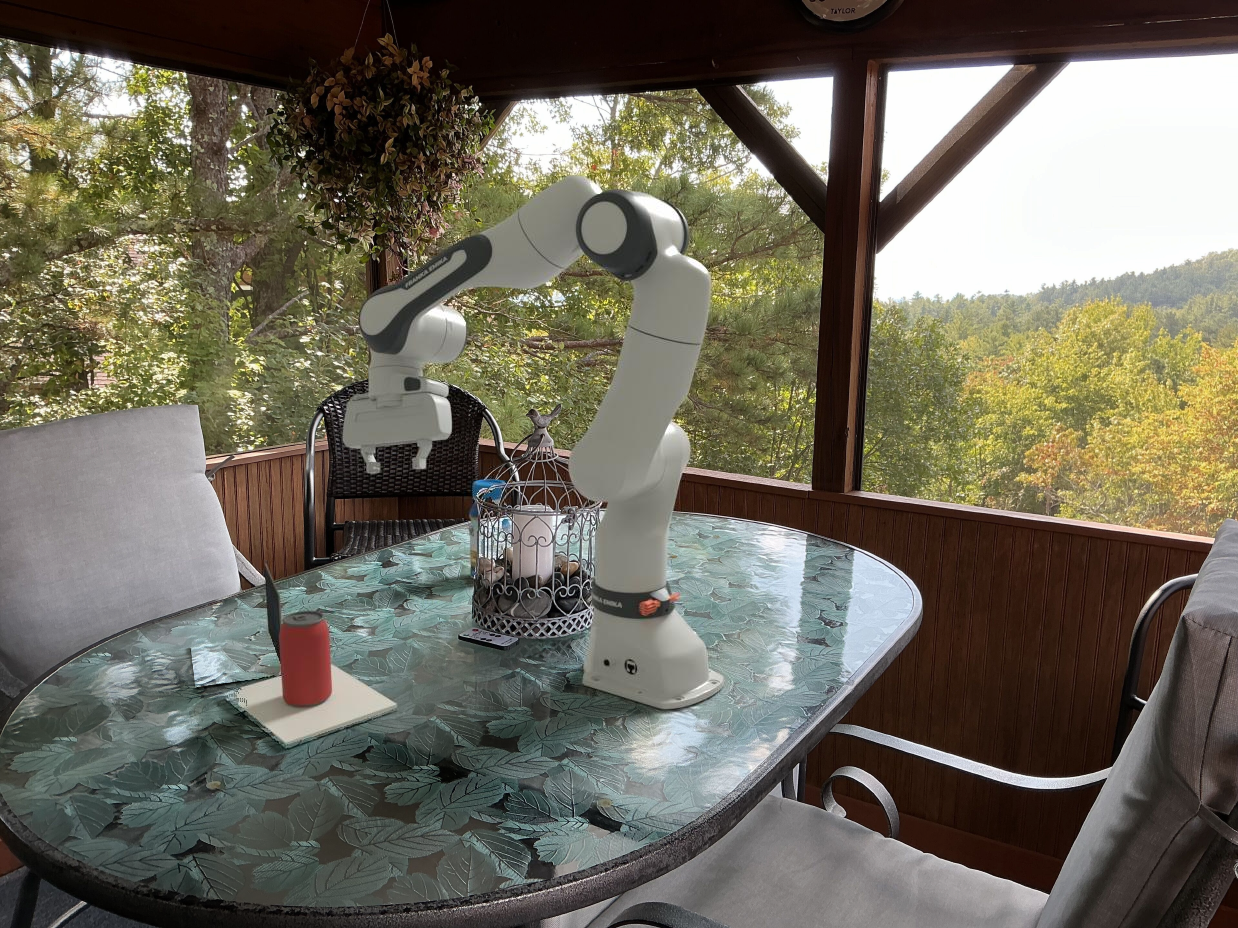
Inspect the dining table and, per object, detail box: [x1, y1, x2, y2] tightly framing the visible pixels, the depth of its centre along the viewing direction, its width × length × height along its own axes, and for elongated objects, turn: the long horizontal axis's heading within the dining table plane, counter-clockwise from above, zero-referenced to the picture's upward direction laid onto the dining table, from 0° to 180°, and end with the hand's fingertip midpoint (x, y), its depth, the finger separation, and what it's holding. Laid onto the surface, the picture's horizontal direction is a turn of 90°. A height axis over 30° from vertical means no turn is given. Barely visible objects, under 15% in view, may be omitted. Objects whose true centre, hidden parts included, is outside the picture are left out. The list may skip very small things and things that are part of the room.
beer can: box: [279, 610, 332, 707], centre depth 125 cm, size 7×7×12 cm
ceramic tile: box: [226, 663, 398, 745], centre depth 126 cm, size 20×16×1 cm
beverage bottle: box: [468, 478, 512, 579], centre depth 183 cm, size 8×8×20 cm
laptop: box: [263, 563, 283, 664], centre depth 140 cm, size 18×12×13 cm
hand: (395, 470), depth 149 cm, fingers open, 8 cm apart
